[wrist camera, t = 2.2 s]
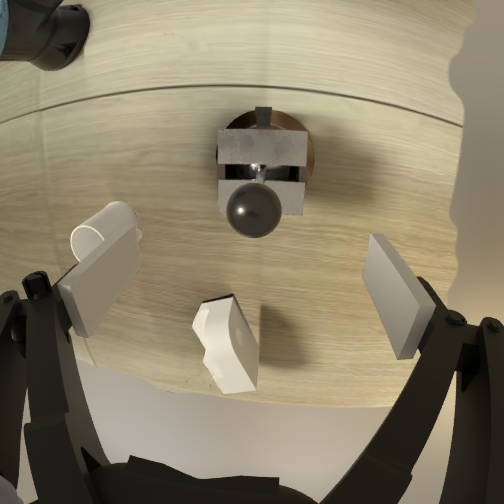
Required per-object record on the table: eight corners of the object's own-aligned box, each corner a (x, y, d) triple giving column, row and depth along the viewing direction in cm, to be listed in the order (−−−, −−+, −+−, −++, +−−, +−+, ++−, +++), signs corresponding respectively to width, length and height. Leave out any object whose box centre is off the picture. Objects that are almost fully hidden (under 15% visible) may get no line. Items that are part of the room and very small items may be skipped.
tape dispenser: (259, 347, 65) (256, 389, 54) (218, 354, 67) (209, 395, 56) (233, 293, 59) (224, 335, 47) (188, 304, 61) (172, 344, 50)
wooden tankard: (229, 109, 42) (212, 106, 30) (302, 111, 42) (313, 108, 30) (229, 190, 48) (214, 216, 37) (298, 193, 48) (307, 220, 36)
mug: (155, 206, 51) (126, 231, 41) (153, 247, 55) (128, 279, 44) (102, 198, 51) (67, 220, 40) (103, 237, 55) (72, 265, 44)
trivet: (216, 109, 43) (215, 109, 42) (315, 112, 42) (316, 112, 41) (217, 201, 50) (217, 202, 50) (310, 205, 49) (310, 206, 49)
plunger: (236, 139, 36) (196, 165, 18) (291, 141, 36) (310, 168, 17) (236, 191, 40) (201, 265, 21) (288, 193, 39) (302, 269, 21)
